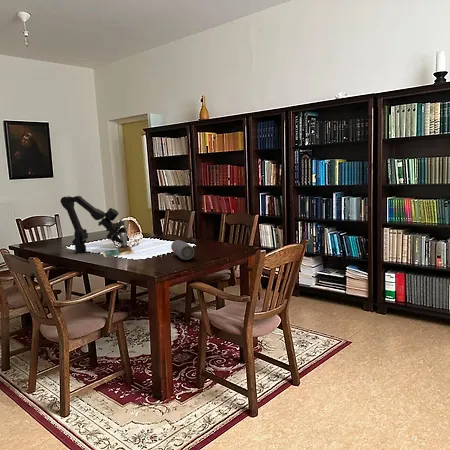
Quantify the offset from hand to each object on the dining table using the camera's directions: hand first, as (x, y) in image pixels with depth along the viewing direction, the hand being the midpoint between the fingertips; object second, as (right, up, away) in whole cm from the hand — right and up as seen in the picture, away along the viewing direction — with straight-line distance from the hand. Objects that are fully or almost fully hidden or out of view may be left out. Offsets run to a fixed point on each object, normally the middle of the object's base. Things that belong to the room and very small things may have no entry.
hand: (125, 241), depth 283 cm
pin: (-1, -6, +1) cm, 6 cm away
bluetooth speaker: (+40, -9, -25) cm, 48 cm away
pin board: (-4, -8, -4) cm, 10 cm away
